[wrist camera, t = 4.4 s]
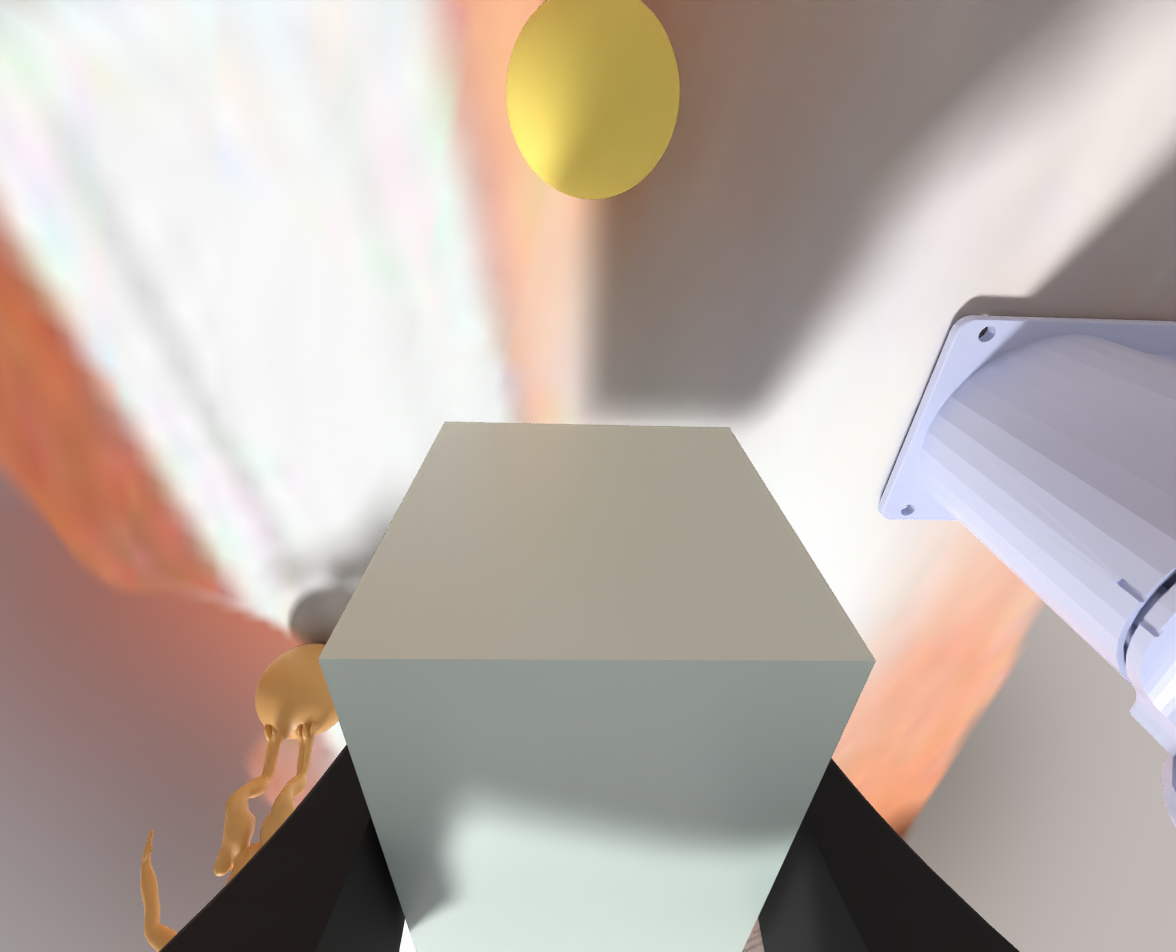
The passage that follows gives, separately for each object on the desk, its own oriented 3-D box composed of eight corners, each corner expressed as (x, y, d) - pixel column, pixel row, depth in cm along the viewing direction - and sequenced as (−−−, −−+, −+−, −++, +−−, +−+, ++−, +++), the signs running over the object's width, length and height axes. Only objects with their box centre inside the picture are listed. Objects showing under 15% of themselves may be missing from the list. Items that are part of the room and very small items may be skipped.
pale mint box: (729, 428, 11) (876, 660, 6) (673, 721, 16) (723, 990, 11) (445, 421, 11) (318, 658, 5) (479, 721, 16) (431, 997, 10)
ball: (674, 12, 13) (710, -40, 9) (657, 196, 15) (681, 209, 11) (511, 4, 12) (488, -53, 9) (517, 191, 15) (500, 203, 11)
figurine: (402, 622, 24) (273, 969, 14) (427, 701, 27) (338, 1030, 17) (223, 628, 24) (-40, 981, 14) (269, 706, 27) (85, 1040, 17)
